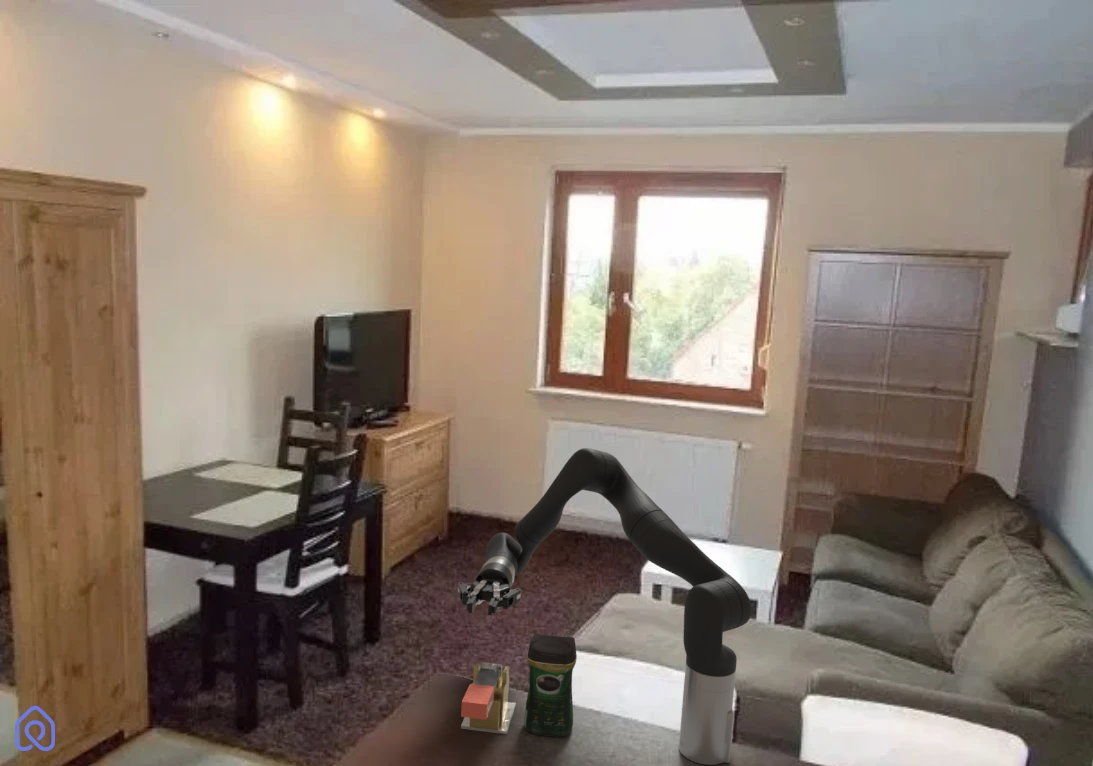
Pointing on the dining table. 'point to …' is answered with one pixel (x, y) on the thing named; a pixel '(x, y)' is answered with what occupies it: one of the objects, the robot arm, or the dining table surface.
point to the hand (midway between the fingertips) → (480, 609)
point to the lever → (481, 692)
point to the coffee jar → (550, 685)
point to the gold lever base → (494, 708)
